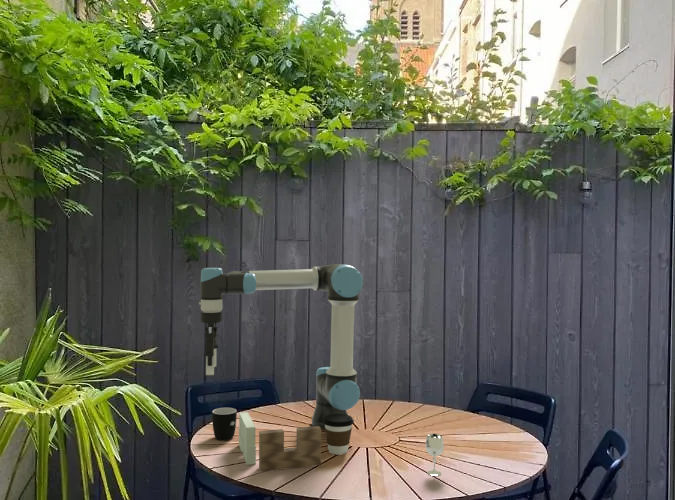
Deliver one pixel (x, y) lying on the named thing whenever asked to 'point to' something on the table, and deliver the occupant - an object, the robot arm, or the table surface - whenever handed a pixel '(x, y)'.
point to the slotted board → (289, 449)
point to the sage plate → (247, 438)
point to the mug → (224, 423)
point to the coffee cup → (338, 432)
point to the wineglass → (434, 449)
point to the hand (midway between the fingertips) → (211, 370)
